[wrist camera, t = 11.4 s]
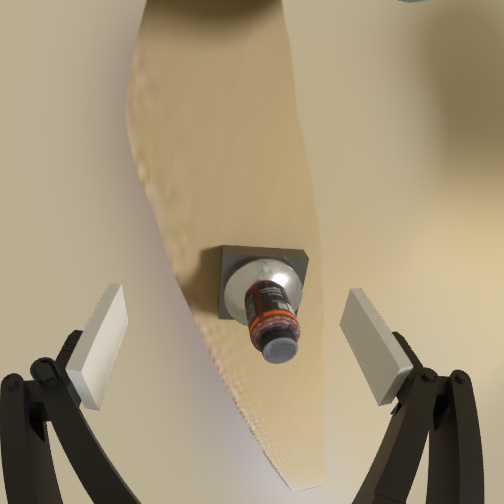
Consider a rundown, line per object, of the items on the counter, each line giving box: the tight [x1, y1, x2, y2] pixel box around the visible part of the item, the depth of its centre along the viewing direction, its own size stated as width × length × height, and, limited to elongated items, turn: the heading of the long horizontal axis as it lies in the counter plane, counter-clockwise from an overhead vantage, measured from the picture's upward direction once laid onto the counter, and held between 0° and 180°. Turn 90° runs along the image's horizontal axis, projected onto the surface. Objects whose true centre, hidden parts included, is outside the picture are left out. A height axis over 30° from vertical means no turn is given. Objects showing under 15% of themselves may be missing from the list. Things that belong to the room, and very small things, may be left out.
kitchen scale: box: [218, 245, 309, 326], centre depth 44 cm, size 12×12×5 cm
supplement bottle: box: [244, 280, 300, 364], centre depth 36 cm, size 6×6×11 cm
